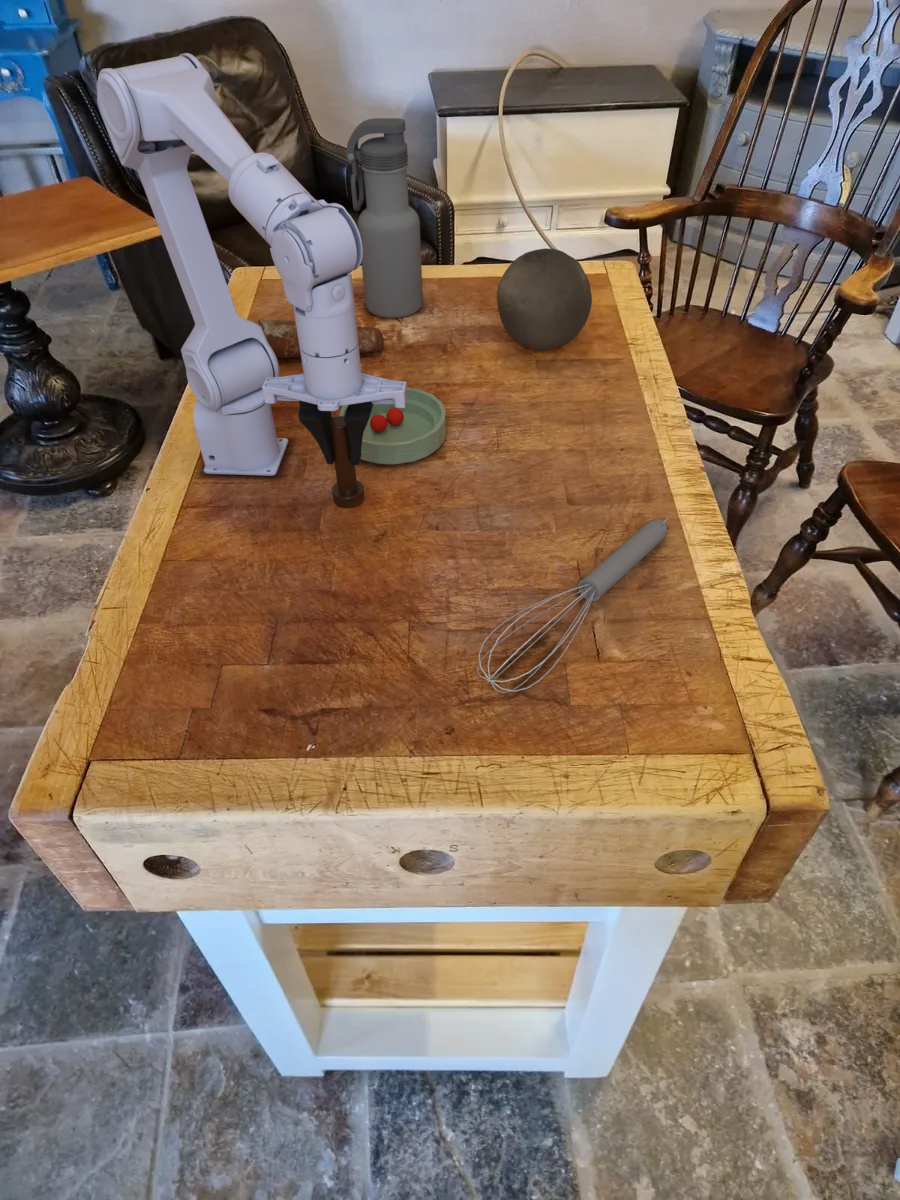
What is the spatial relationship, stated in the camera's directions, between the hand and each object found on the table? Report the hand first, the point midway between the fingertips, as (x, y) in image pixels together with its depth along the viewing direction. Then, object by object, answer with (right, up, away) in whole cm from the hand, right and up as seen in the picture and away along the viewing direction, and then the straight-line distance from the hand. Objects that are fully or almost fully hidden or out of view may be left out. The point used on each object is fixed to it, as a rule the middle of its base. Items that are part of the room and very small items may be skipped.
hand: (344, 459), depth 87 cm
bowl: (+4, +7, +21) cm, 23 cm away
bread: (-8, +24, +38) cm, 46 cm away
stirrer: (0, -4, +4) cm, 5 cm away
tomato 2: (+4, +10, +22) cm, 24 cm away
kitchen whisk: (+26, -16, -2) cm, 30 cm away
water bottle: (+2, +35, +49) cm, 60 cm away
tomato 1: (+2, +9, +21) cm, 22 cm away
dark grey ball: (+26, +24, +38) cm, 51 cm away
